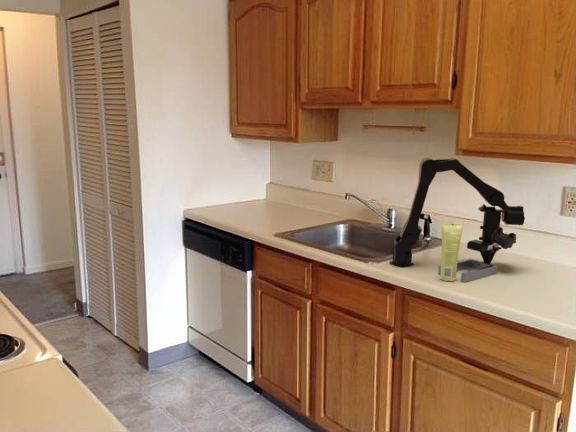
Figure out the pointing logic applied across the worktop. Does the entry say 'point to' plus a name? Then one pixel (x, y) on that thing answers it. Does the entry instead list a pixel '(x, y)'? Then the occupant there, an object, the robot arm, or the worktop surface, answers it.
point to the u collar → (479, 269)
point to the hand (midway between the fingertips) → (487, 266)
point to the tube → (450, 249)
